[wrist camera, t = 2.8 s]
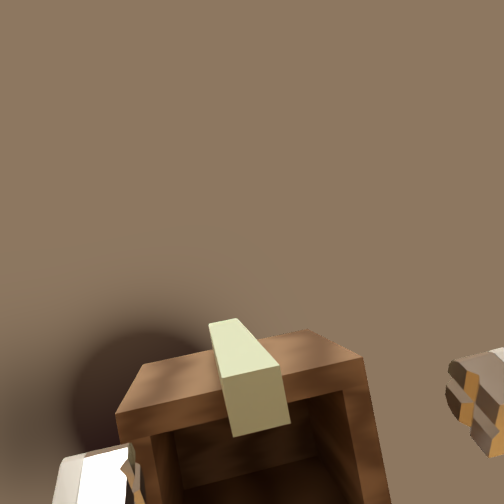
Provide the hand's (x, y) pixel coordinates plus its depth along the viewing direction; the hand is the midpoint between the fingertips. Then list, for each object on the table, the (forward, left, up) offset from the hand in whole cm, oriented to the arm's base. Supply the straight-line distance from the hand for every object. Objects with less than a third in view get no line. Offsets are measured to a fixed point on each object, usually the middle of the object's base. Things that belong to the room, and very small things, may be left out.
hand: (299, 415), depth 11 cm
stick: (+6, +22, -4) cm, 23 cm away
